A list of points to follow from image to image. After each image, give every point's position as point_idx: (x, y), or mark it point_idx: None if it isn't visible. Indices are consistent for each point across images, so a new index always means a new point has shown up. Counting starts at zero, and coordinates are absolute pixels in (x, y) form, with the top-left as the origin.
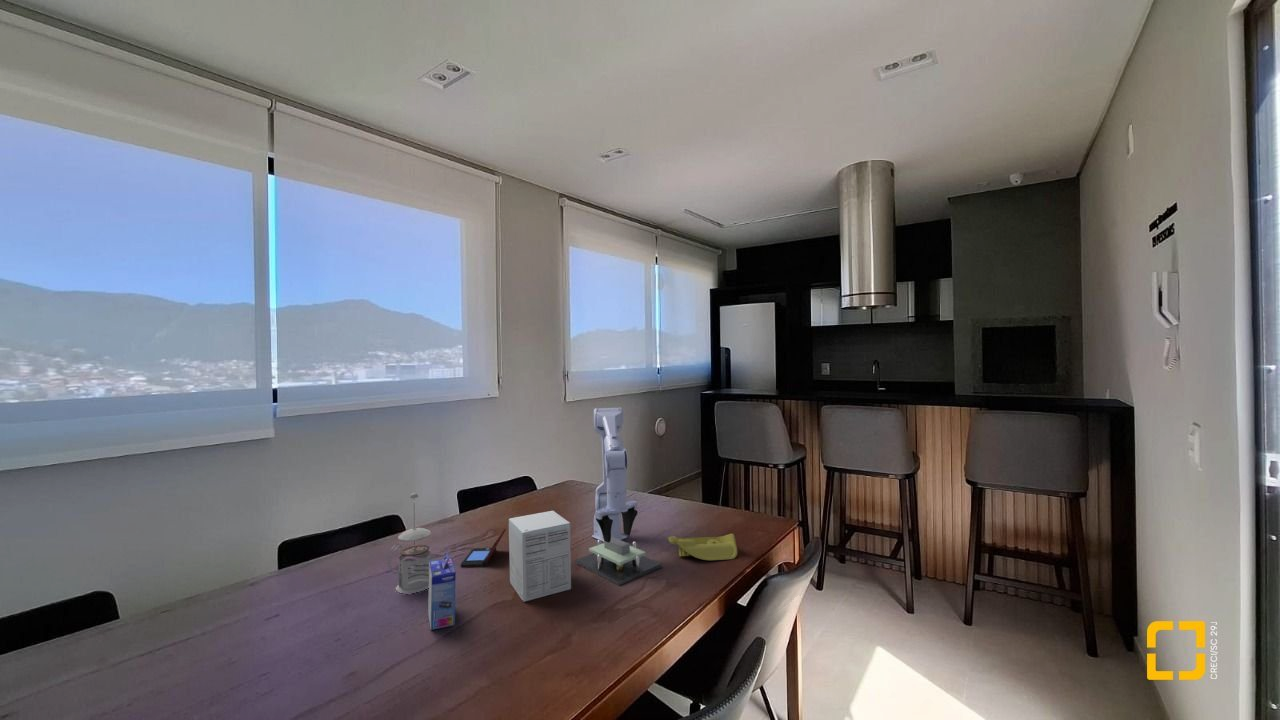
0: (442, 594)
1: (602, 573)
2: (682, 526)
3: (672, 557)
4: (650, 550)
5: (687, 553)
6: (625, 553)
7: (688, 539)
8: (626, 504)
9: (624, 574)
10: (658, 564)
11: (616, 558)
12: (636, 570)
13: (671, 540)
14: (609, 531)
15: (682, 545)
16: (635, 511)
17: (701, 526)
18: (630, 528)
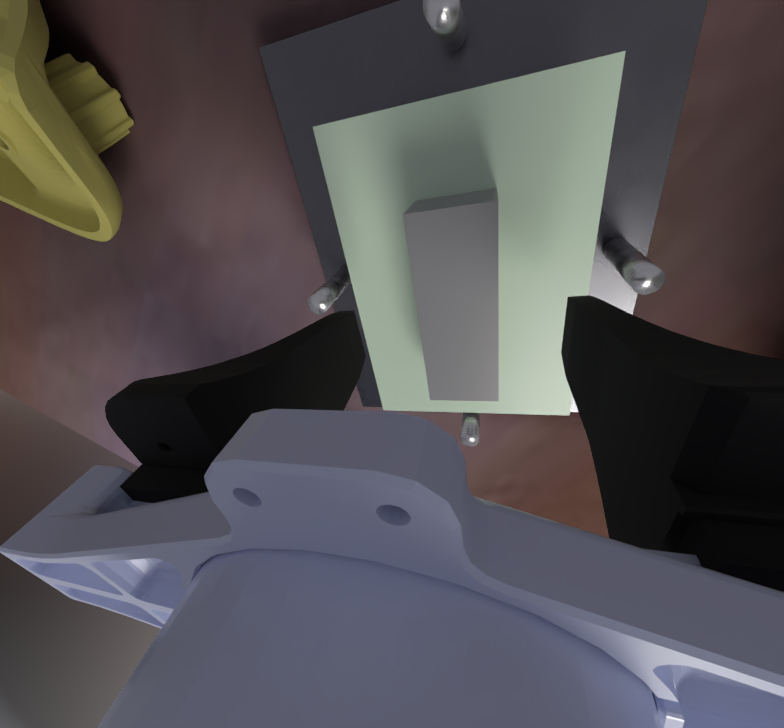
0: None
1: (665, 172)
2: (86, 381)
3: (173, 149)
4: (251, 294)
5: (62, 60)
6: (459, 194)
7: (27, 200)
8: (163, 626)
9: (571, 37)
10: (278, 49)
11: (571, 163)
12: (466, 27)
13: (86, 154)
14: (639, 331)
15: (9, 3)
16: (132, 410)
17: (18, 340)
18: (316, 328)
